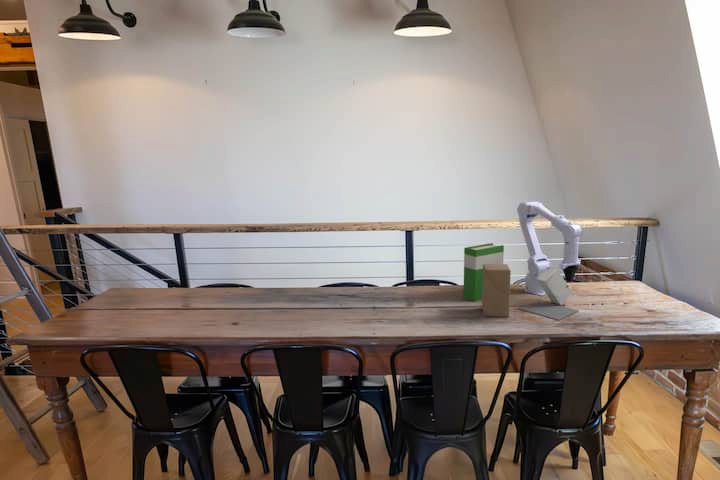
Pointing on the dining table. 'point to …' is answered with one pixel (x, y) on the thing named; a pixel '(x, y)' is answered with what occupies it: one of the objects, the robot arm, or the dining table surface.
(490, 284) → the wooden block
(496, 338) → the dining table surface
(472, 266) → the hardback book
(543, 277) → the skincare box
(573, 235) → the robot arm
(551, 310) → the mat
